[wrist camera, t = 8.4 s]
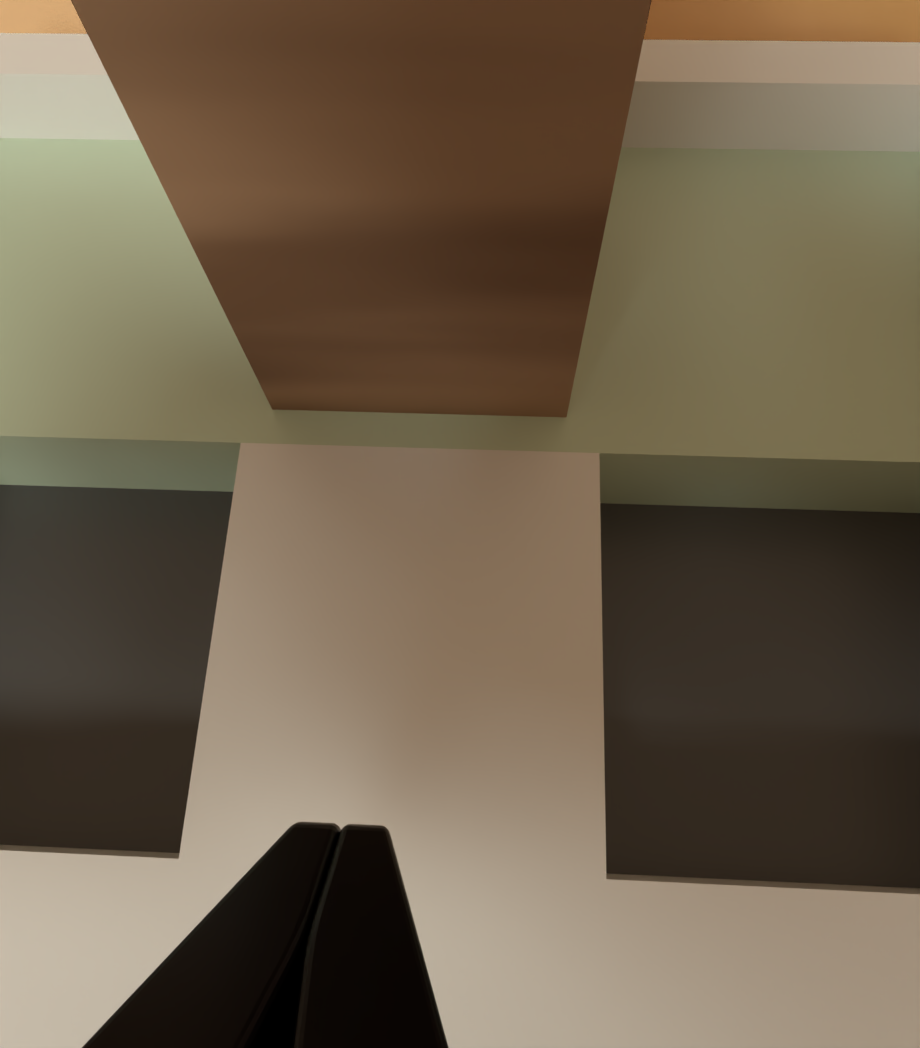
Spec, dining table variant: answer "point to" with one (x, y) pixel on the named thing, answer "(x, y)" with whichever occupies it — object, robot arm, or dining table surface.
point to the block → (387, 184)
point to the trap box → (486, 587)
